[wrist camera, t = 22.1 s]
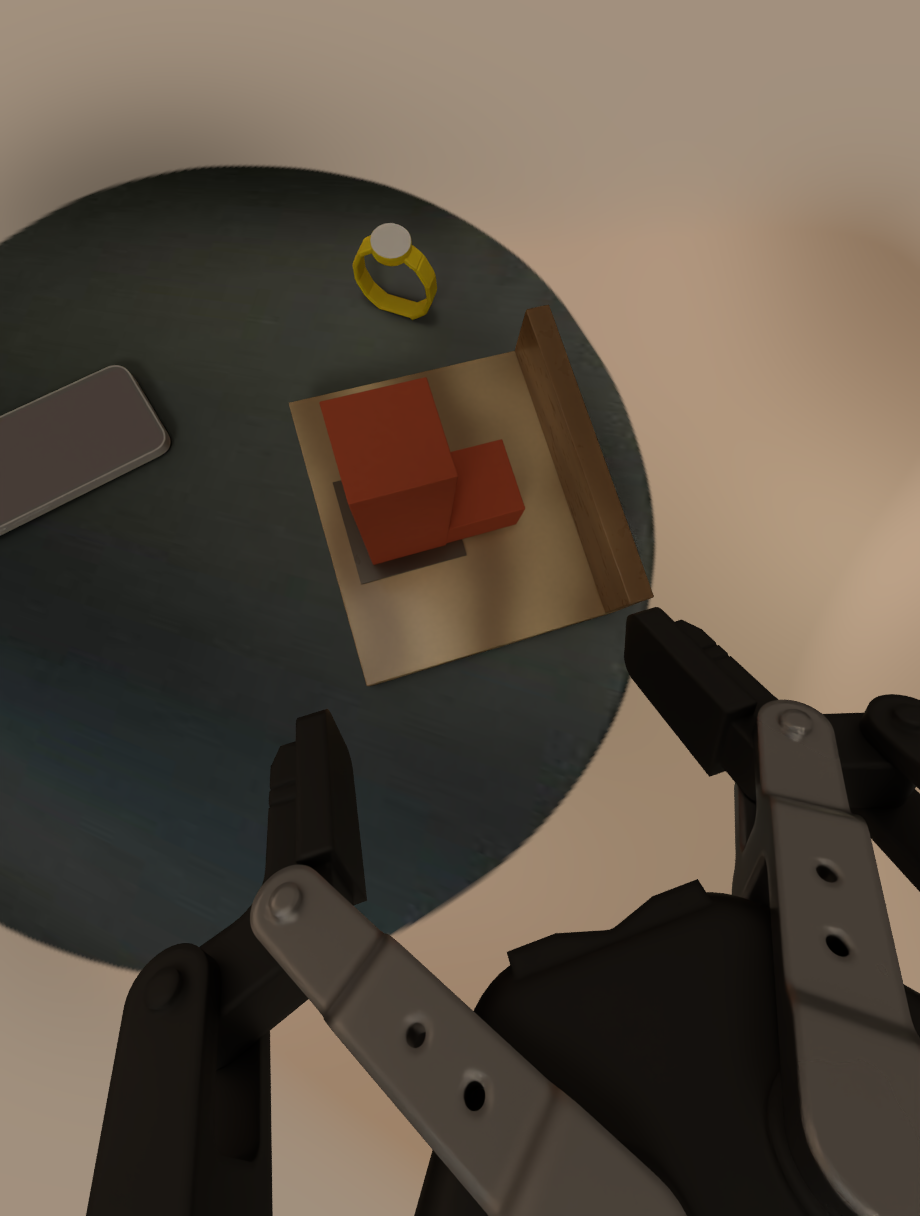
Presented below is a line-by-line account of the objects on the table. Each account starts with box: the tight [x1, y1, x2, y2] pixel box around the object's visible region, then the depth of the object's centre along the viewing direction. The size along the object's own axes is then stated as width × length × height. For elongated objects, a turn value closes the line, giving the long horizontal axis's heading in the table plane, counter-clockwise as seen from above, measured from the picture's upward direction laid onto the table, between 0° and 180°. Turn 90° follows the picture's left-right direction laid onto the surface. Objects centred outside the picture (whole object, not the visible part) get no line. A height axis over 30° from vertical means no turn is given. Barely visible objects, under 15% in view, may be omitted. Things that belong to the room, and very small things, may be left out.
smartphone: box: [0, 365, 170, 536], centre depth 34 cm, size 7×1×15 cm
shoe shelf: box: [289, 305, 654, 686], centre depth 33 cm, size 18×20×7 cm
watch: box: [353, 223, 437, 320], centre depth 36 cm, size 6×3×6 cm, turn 71°
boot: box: [319, 377, 525, 565], centre depth 28 cm, size 10×5×11 cm, turn 107°
